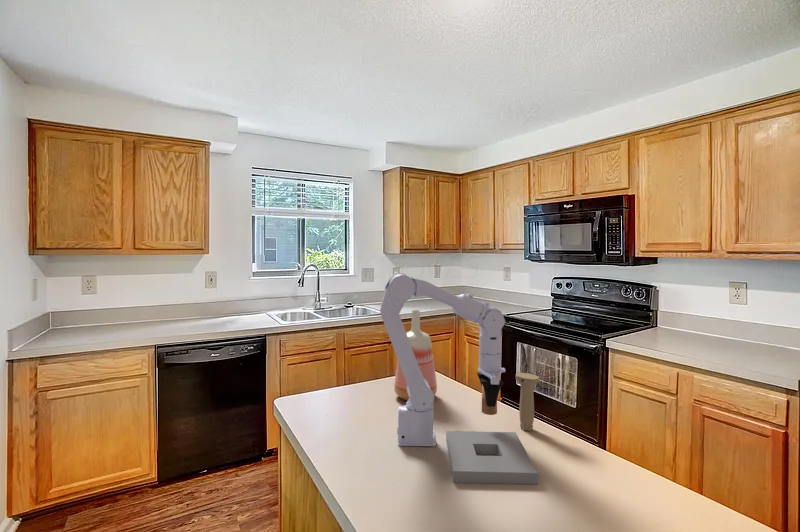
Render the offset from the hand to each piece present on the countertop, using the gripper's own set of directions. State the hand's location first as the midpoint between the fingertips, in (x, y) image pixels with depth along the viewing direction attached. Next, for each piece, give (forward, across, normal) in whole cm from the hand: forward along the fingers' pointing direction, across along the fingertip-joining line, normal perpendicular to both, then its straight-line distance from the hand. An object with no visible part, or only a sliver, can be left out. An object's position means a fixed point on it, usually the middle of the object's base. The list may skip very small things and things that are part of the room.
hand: (489, 402), depth 111 cm
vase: (+10, +30, +19) cm, 37 cm away
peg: (+2, 0, 0) cm, 2 cm away
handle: (+10, +6, -12) cm, 16 cm away
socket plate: (+9, -12, +3) cm, 16 cm away
